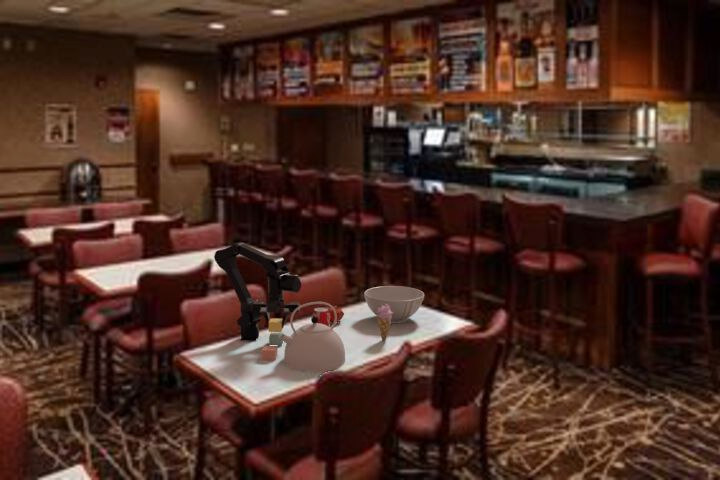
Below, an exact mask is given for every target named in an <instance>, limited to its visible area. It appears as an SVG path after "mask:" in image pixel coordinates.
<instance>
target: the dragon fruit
mask: <svg viewBox="0 0 720 480" xmlns="http://www.w3.org/2000/svg"><path fill="white" fill-rule="evenodd" d="M333 307H334V309H335V311H336V314H337V321H336V324H339V323H340V322H342V321H341V320H342V319H343V318H344V315H345V313H344V311H343V310H342V308H338V306H337V305H334V306H333ZM323 308H327V309H328V311H329V313H330V324H332V325H333V323H334V321H335V314H334V311H333V310H332V308H331V307H329V306H324V307H323ZM338 322H339V323H338Z"/></svg>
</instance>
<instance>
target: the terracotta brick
mask: <svg viewBox="0 0 720 480" xmlns="http://www.w3.org/2000/svg"><path fill="white" fill-rule="evenodd" d="M276 357H278V346H269V345H263V347H262V349H261V361H276V359H277V358H276Z"/></svg>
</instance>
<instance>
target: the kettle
mask: <svg viewBox="0 0 720 480" xmlns="http://www.w3.org/2000/svg"><path fill="white" fill-rule="evenodd" d="M313 305H325V306H326V307H331V308H332V310H333V311H334V314H335V321H334V323H333V324H332V325H331V326H330V327H328V326H326V325H324V324H319V323H317V322H318V318H317V317H316V316H313V315H312V317H311V319H310V321H311V323H307V324H304V325H302V326H301V327H299V328H297V329H296V328H295V327H294V323H293V322H294V321H293V319H294V316H295V315H296V313H297V312H296V311H297V310H299V309H300V310H301V309H302V308H304V307H308V306H313ZM300 310H299V311H300ZM336 321H337V314H336V311H335V309H334V306H333V305H331V304H330V303H328V302H325V301H313V302H306V303H304V304H300V306H299V307H298V308H296V309H295V310H294V312H291V314H290V322H289V323H290V327H291V329H292V334H291V335H287V334H285V333H283V335H281V336H280V337H279V338H280V339H281V340H282V341H284V342H283V343H284V344H285V348H284V355H283V357H284V358H283V364H284V366H287V367H288V368H289V367H290V369H291V370H295V371H298V372H306V371H312V372H311V373H317V372H318V371H321V372H328V371H333V370H336V369H338V368H340V367H343V365H345V363H346V350H345V344H344V342H343V340H342V338H341V337H340V334H338V333H337V331H335V330H334V328H335V326H336V324H337V323H336ZM327 370H328V371H327ZM318 373H319V372H318Z"/></svg>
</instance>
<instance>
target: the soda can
mask: <svg viewBox="0 0 720 480" xmlns="http://www.w3.org/2000/svg"><path fill="white" fill-rule="evenodd" d="M313 316H316V317H317V318H318V322H317V323H319V324H324V325H326V326H328V327H330V328H331V323H330V313H329V311H328V309H327V308H324V307H315V308H314V309H313V312H312V317H313Z"/></svg>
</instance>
